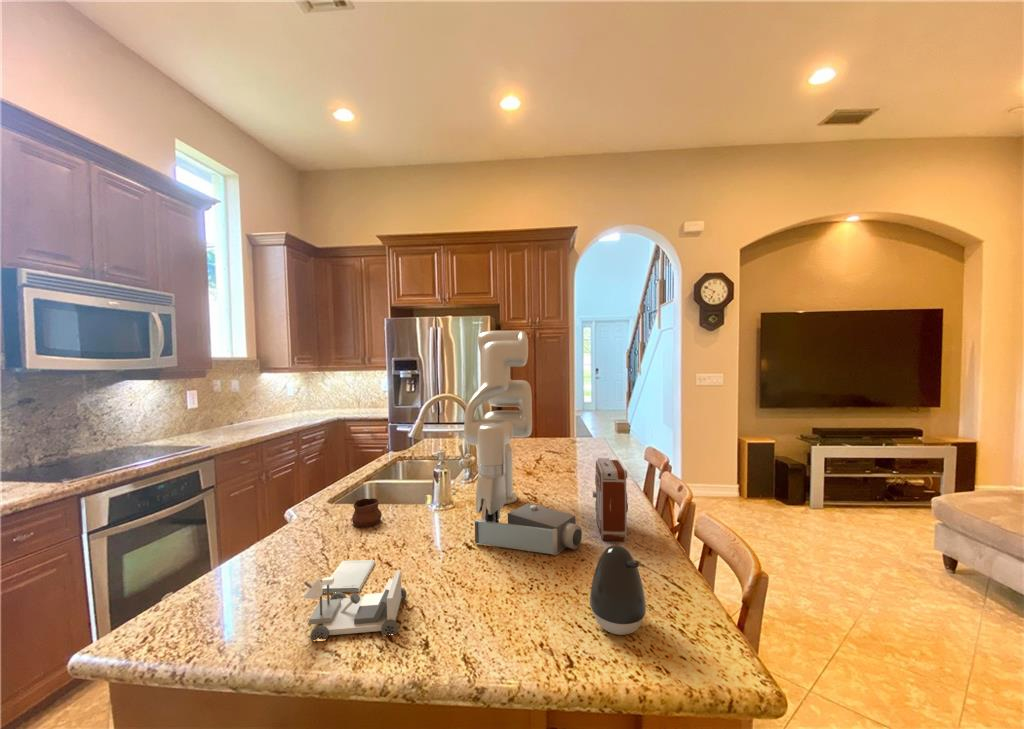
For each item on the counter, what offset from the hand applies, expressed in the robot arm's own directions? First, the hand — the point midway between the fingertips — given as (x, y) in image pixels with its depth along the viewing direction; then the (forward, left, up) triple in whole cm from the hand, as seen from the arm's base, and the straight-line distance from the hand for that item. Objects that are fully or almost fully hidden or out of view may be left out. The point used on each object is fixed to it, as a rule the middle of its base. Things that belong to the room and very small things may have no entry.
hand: (492, 534), depth 114 cm
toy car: (+1, -42, -2) cm, 42 cm away
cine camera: (+23, +27, -2) cm, 35 cm away
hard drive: (-14, -35, -2) cm, 37 cm away
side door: (+8, -1, -1) cm, 9 cm away
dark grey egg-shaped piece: (+43, -13, -2) cm, 45 cm away
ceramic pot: (-39, -14, -2) cm, 42 cm away
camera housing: (+12, +9, -2) cm, 15 cm away
